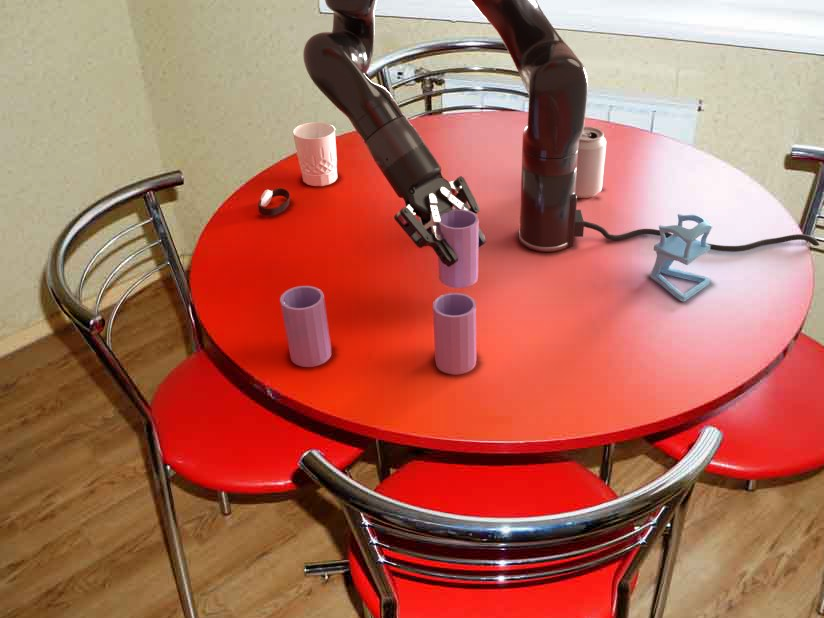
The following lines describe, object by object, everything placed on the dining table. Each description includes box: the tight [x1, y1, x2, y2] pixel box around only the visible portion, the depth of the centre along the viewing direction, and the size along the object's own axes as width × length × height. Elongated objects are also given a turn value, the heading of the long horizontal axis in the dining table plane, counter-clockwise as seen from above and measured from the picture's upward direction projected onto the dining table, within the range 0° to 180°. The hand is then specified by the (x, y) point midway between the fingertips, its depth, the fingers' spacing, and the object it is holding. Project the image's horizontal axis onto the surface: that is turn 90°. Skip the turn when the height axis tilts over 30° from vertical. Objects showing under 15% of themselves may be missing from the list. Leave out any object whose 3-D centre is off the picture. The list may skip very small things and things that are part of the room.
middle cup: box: [438, 208, 480, 289], centre depth 126 cm, size 6×6×10 cm
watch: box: [257, 187, 291, 217], centre depth 157 cm, size 8×5×4 cm, turn 159°
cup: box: [432, 292, 477, 376], centre depth 120 cm, size 6×6×10 cm
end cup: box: [279, 285, 333, 368], centre depth 121 cm, size 6×6×10 cm
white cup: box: [292, 121, 338, 187], centre depth 164 cm, size 8×8×10 cm
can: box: [575, 125, 607, 199], centre depth 161 cm, size 8×8×12 cm
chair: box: [649, 213, 713, 303], centre depth 136 cm, size 8×8×12 cm
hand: (467, 254), depth 125 cm, fingers closed on middle cup, 6 cm apart
